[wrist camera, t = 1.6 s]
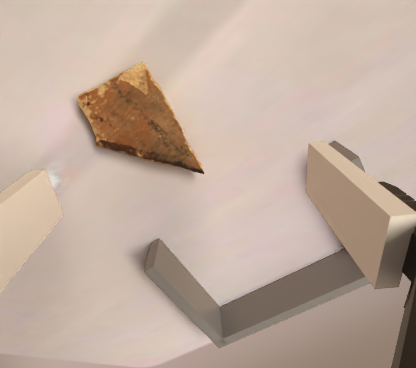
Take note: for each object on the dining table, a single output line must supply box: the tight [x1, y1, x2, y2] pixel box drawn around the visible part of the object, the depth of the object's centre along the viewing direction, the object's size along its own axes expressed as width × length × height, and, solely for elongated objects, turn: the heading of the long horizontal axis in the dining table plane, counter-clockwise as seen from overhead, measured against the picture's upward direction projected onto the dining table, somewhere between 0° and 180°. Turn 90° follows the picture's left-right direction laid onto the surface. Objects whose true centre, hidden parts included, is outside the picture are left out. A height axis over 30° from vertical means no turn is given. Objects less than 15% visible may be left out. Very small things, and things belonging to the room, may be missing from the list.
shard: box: [76, 62, 204, 174], centre depth 25 cm, size 11×8×2 cm
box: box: [144, 141, 370, 348], centre depth 31 cm, size 14×22×4 cm, turn 122°
